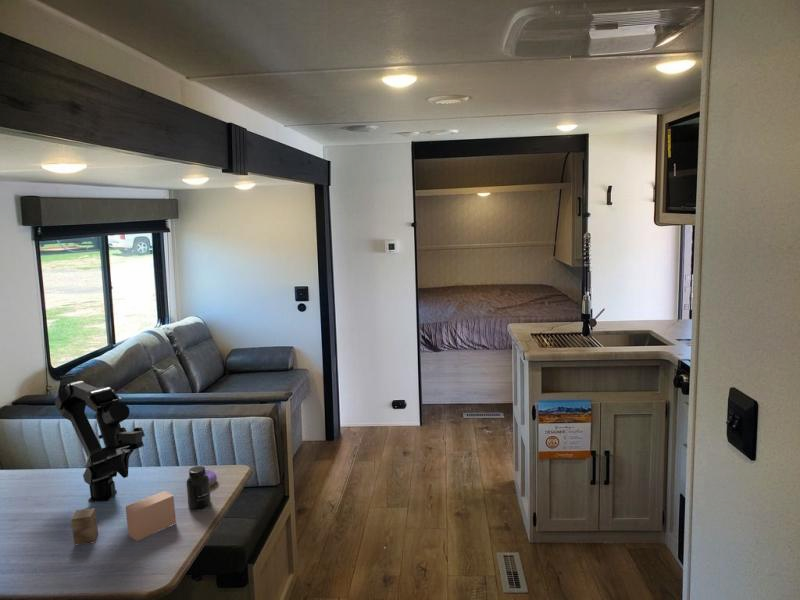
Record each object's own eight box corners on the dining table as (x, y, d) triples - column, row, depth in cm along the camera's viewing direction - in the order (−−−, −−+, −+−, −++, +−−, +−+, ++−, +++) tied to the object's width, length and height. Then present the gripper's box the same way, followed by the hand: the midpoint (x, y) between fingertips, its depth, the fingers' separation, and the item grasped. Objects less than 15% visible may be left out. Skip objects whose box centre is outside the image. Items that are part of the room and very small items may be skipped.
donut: (187, 479, 211) (189, 466, 211) (215, 480, 214) (217, 467, 214) (186, 492, 202) (188, 478, 201) (215, 493, 205) (217, 480, 204)
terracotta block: (128, 535, 178) (125, 506, 176) (167, 518, 187) (164, 490, 185) (137, 541, 175) (133, 512, 173) (176, 523, 184) (173, 495, 182)
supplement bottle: (204, 511, 190) (201, 474, 188) (184, 509, 192) (180, 473, 189) (215, 500, 197) (212, 465, 195) (195, 498, 198) (192, 463, 196)
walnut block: (74, 545, 173) (71, 519, 172) (79, 536, 178) (76, 510, 177) (93, 542, 174) (90, 516, 173) (98, 533, 179) (95, 507, 178)
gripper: (113, 422, 179) (130, 474, 177) (150, 415, 197) (165, 462, 195) (81, 436, 180) (97, 487, 178) (120, 427, 199) (135, 474, 197)
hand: (125, 477), depth 187 cm, fingers closed
